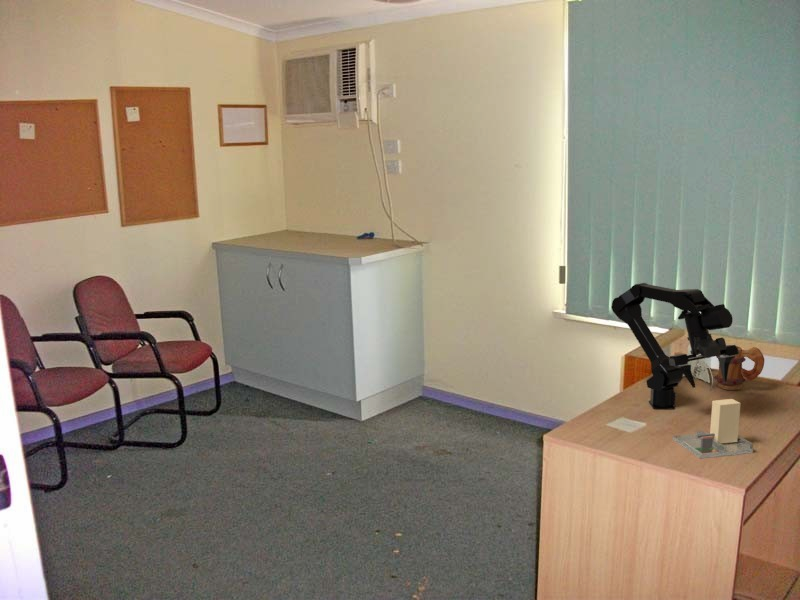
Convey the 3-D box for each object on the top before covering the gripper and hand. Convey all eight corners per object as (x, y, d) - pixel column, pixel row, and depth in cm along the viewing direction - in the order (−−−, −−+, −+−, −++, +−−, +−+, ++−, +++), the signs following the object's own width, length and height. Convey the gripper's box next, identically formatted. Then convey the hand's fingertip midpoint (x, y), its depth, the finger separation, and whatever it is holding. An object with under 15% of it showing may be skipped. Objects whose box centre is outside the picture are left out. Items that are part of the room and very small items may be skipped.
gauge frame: (672, 439, 207) (673, 431, 207) (722, 434, 210) (723, 426, 210) (700, 458, 195) (700, 449, 194) (752, 452, 198) (753, 443, 197)
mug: (711, 389, 248) (714, 345, 245) (716, 382, 254) (719, 340, 251) (759, 397, 239) (762, 352, 236) (763, 390, 246) (767, 346, 243)
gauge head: (691, 439, 203) (694, 401, 201) (728, 436, 205) (730, 398, 203) (700, 445, 199) (703, 406, 197) (737, 441, 201) (740, 403, 199)
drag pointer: (700, 448, 197) (701, 436, 196) (710, 447, 197) (711, 435, 197) (701, 449, 196) (702, 437, 196) (712, 447, 197) (713, 436, 196)
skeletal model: (660, 384, 254) (672, 324, 266) (663, 398, 260) (675, 338, 273) (711, 390, 246) (721, 328, 258) (712, 404, 253) (722, 342, 265)
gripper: (675, 337, 210) (687, 392, 209) (741, 325, 210) (753, 379, 209) (663, 338, 222) (674, 390, 220) (725, 326, 221) (736, 378, 220)
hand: (709, 384), depth 217 cm, fingers open, 9 cm apart
